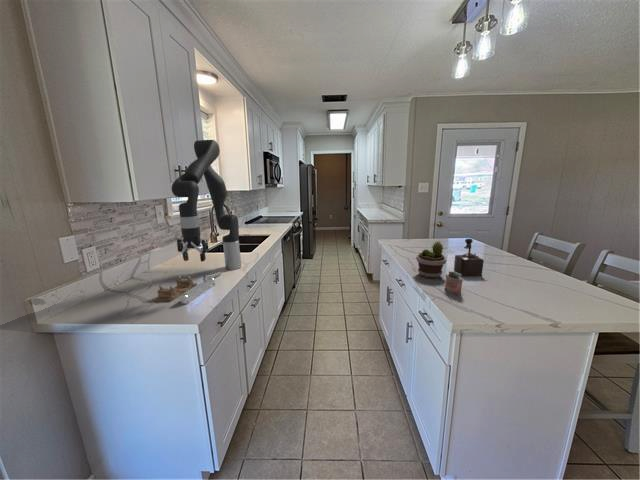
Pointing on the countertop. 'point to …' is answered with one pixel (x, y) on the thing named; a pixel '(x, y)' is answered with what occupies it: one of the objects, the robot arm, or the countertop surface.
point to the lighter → (453, 283)
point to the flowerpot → (431, 262)
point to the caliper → (211, 276)
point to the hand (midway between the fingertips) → (194, 260)
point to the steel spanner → (197, 291)
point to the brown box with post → (468, 263)
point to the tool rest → (175, 290)
